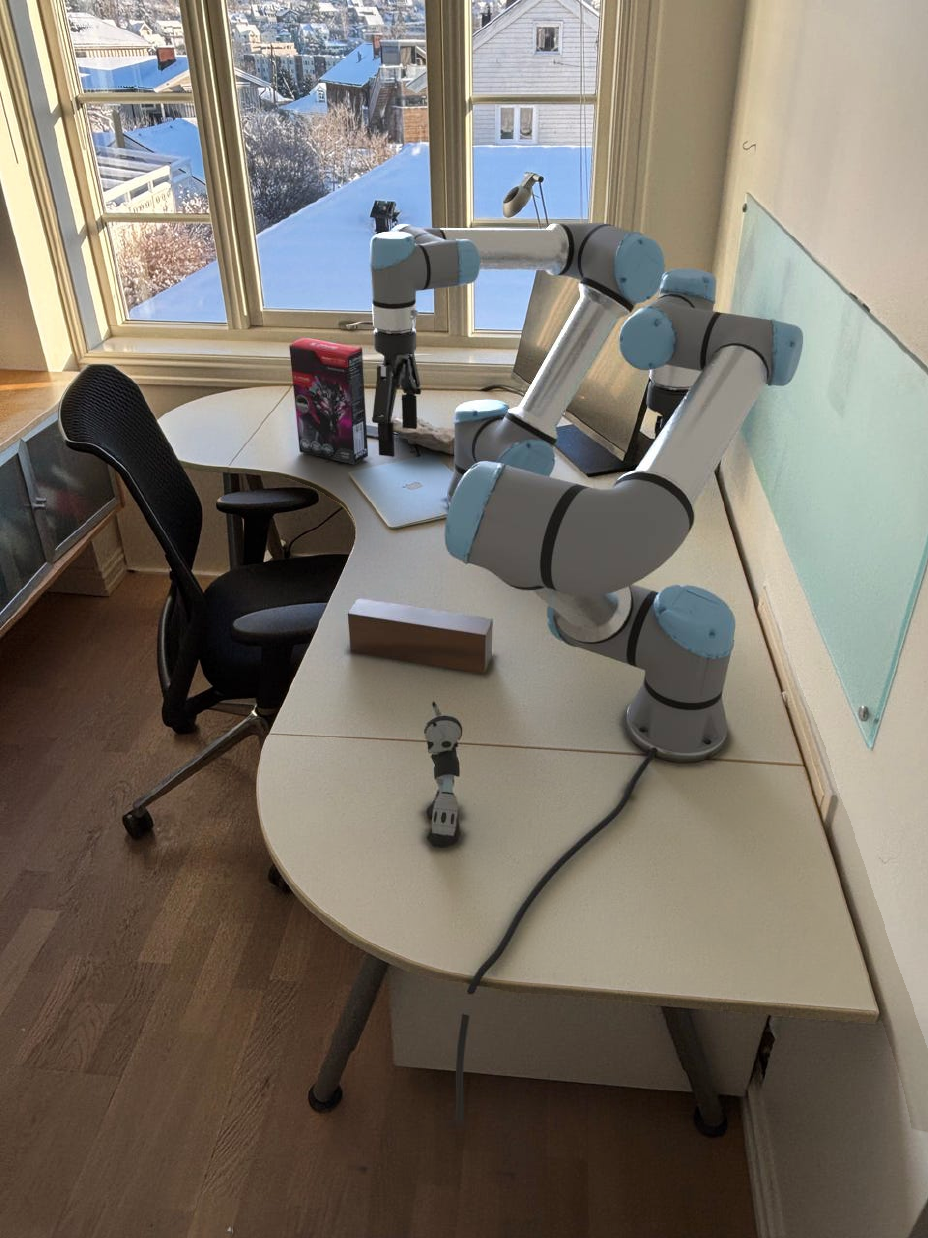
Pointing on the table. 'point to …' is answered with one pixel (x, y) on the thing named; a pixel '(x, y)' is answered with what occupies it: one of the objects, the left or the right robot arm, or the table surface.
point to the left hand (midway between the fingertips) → (398, 441)
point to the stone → (426, 435)
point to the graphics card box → (329, 399)
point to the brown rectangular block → (420, 635)
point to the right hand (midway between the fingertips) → (656, 512)
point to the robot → (443, 777)
